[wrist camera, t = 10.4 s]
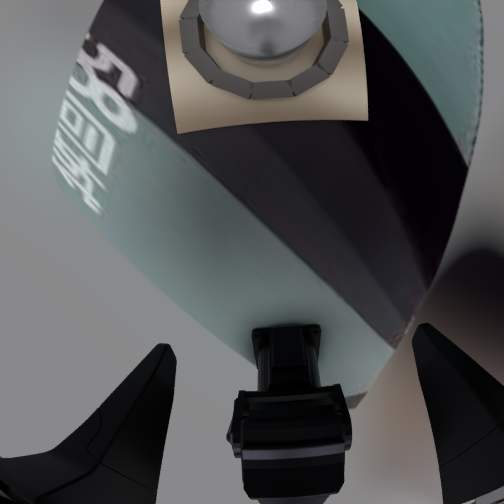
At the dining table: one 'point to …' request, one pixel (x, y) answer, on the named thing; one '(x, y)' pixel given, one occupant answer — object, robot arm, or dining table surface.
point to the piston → (263, 27)
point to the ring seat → (264, 73)
